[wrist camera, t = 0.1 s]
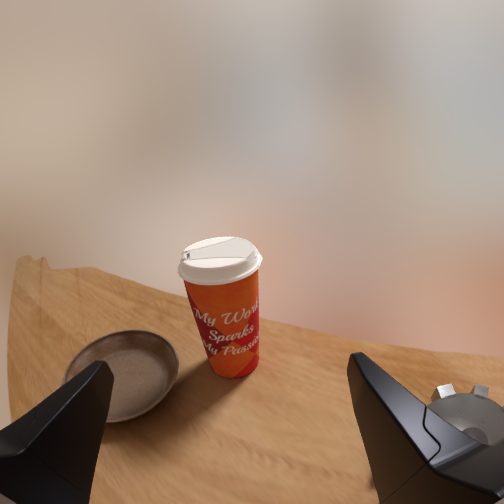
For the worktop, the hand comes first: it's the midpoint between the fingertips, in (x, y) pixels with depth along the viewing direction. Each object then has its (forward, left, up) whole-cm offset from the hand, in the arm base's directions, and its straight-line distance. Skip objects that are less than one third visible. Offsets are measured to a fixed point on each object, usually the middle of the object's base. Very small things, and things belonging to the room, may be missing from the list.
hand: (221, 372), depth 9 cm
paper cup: (+17, +2, -17) cm, 24 cm away
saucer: (+13, +15, -17) cm, 26 cm away
